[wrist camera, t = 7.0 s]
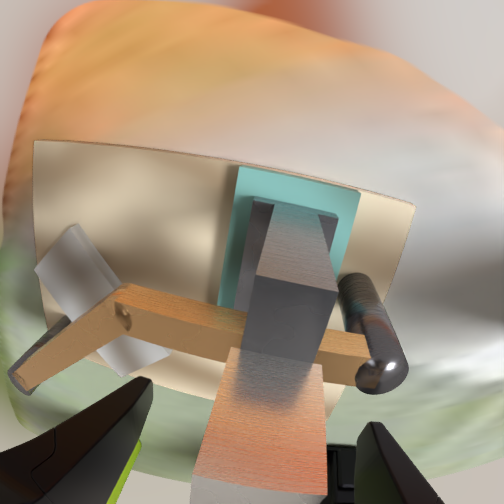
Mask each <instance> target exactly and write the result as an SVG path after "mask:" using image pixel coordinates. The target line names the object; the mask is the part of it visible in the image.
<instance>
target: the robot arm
mask: <svg viewBox="0 0 504 504" xmlns="http://www.w3.org/2000/svg"><path fill="white" fill-rule="evenodd" d="M152 401H153V382H152V380H151V379H150V378H147V377H143V376H138V377H136V378H134V379H133V380H131V381H130V382H128V383H126V384H125V385H123V386H122V387H120V388H118V389H117V390H115V391H114V392H112V393H110V394H109V395H107V396H106V397H104V398H102V399H101V400H99V401H97V402H96V403H94V404H93V405H91V406H89V407H88V408H86V409H84V410H83V411H81V412H79V413H78V414H76V415H74V416H73V417H71V418H69V419H68V420H66V421H64V422H62V423H61V424H59V425H57V426H56V427H55V428H52V429H50V430H49V431H47V432H45V433H43V434H41V435H39V436H38V437H36V438H34V439H32V440H30V441H27V442H25V443H23V444H21V445H18V446H16V447H13V448H11V449H8V450H6V451H3V452H0V504H106V503H107V501H108V499H109V498H110V496H111V494H112V492H113V490H114V488H115V486H116V484H117V482H118V480H119V478H120V476H121V474H122V472H123V470H124V468H125V466H126V464H127V462H128V460H129V458H130V456H131V454H132V452H133V451H134V449H135V447H136V444H137V442H138V440H139V437H140V435H141V432H142V429H143V426H144V423H145V421H146V418H147V415H148V412H149V410H150V407H151V404H152ZM326 451H327V496H326V497H325V498H324V499H323V500H322V501H321V502H320V503H319V504H445V503H444V502H443V501H442V500H441V498H440V497H438V495H437V493H436V492H435V491H434V489H433V488H432V487H431V485H430V484H429V483H428V482H427V480H426V479H425V478H424V476H423V475H422V474H421V473H420V471H419V470H418V469H417V467H416V466H415V465H414V464H413V462H412V461H411V460H410V458H409V457H408V456H407V455H406V453H405V452H404V451H403V449H402V448H401V447H400V446H399V444H398V443H397V442H396V440H395V439H394V438H393V436H392V435H391V434H390V433H389V431H388V430H387V429H386V427H385V426H384V425H383V424H382V423H381V422H369V423H367V425H366V426H365V428H364V429H363V431H362V432H361V434H360V435H359V437H358V439H357V449H354V448H339V447H327V446H326Z"/></svg>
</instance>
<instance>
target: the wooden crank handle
mask: <svg viewBox="0 0 504 504" xmlns="http://www.w3.org/2000/svg"><path fill="white" fill-rule="evenodd" d="M337 287H338V291H339V293H338V296H337V297H338V302H339V306H340V311H341V315H342V320H343V325H344V329H345V332H344V331H338V330H333V329H327V328H326V330H325V333H324V336H323V338H322V341H321V344H320V347H319V349H318V352H317V354H316V357H315V360H314V362H313V363H314V364H320V365H322V374H323V382H326V383H333V384H340V385H348V386H356V387H357V388H358V389H359V390H360V391H362V392H364V393H366V394H371V395H377V394H383V393H386V392H389V391H391V390H393V389H395V388H396V387H398V386H399V385H400V384H401V383H402V382H403V381H404V380H405V378H406V376H407V374H408V370H409V367H408V363H407V360H406V358H405V355H404V353H403V350H402V348H401V345H400V343H399V341H398V338H397V336H396V333H395V331H394V329H393V326H392V324H391V322H390V319H389V317H388V315H387V313H386V310H385V308H384V306H383V304H382V301H381V299H380V297H379V295H378V293H377V291H376V288H375V286H374V284H373V282H372V280H371V279H370V277H368V276H367V275H366V274H363V273H359V272H356V273H351V274H348V275H346V276H345V277H343V278H342V279H341V280H340V282H339V284H338V286H337ZM247 314H248V312H244V311H239V310H235V309H231V308H226V307H222V306H218V305H213V304H209V303H205V302H201V301H197V300H193V299H189V298H185V297H181V296H177V295H173V294H169V293H165V292H161V291H158V290H154V289H150V288H146V287H143V286H139V285H135V284H132V283H123V284H121V285H120V286H119V287H117V288H116V289H115V290H113V291H112V292H111V293H109V294H108V295H107V296H105V297H104V298H103V299H101V300H100V301H99V302H97V303H96V304H95V305H94V306H92V307H91V308H90V309H88V310H87V311H86V312H85V313H83V314H82V315H81V316H79V317H78V318H77V319H76V320H74V321H73V322H72V321H71V320H70V319H69V318H68V316H67V315H65V316H63V317H62V318H61V319H60V320H59V321H58V322H57V323H56V324H55V325H53V326H52V327H51V328H50V329H49V330H48V331H47V332H46V333H45V334H44V335H43V336H42V337H41V338H40V339H39V340H38V341H37V342H36V343H35V344H34V345H33V346H32V347H31V348H30V349H29V350H28V351H27V352H26V353H25V354H24V355H23V356H22V357H21V358H20V359H19V360H18V361H17V362H16V363H15V364H14V365H13V366H12V367H11V368H10V369H9V370H8V376H9V378H10V380H11V382H12V383H13V384H14V386H15V387H16V388H17V389H18V390H19V391H21V392H22V393H23V394H25V395H28V396H30V395H31V394H32V393H33V392H34V390H35V389H36V388H37V387H38V386H39V385H40V383H42V382H43V381H45V380H47V379H48V378H50V377H52V376H54V375H55V374H57V373H59V372H60V371H62V370H64V369H65V368H67V367H69V366H70V365H72V364H74V363H76V362H77V361H79V360H81V359H82V358H84V357H86V356H87V355H89V354H91V353H92V352H94V351H96V350H97V349H99V348H101V347H102V346H104V345H106V344H108V343H109V342H111V341H113V340H114V339H116V338H118V337H119V336H121V335H123V334H124V335H127V336H130V337H133V338H136V339H139V340H143V341H146V342H149V343H152V344H156V345H159V346H162V347H166V348H169V349H173V350H176V351H180V352H184V353H187V354H191V355H195V356H199V357H202V358H206V359H210V360H214V361H218V362H223V363H226V362H227V359H228V355H229V352H230V349H231V347H234V348H238V349H240V348H241V343H242V338H243V333H244V328H245V324H246V319H247Z"/></svg>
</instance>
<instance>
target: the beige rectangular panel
mask: <svg viewBox="0 0 504 504" xmlns="http://www.w3.org/2000/svg"><path fill="white" fill-rule="evenodd" d="M255 196H258V197H263V198H268V199H273V200H278V201H282V202H287V203H292V204H296V205H301V206H305V207H310V208H314V209H319V210H323V211H327V212H332V213H336V214H337V216H338V218H339V220H338V224H337V228H336V231H335V235H334V239H333V242H332V246H331V250H330V253H329V256H330V260H331V263H332V267H333V271H334V275H335V279H336V283H337V286H338V284H339V282H340V280H341V279H342V278H343V277H345V276H346V275H348V274H351V273H356V272H359V273H363V274H366V275H367V276H368V277H370V279H371V280H372V282H373V284H374V286H375V288H376V291H377V293H378V295H379V297H380V299H381V301H382V304H383V303H384V300H385V298H386V295H387V293H388V290H389V287H390V285H391V282H392V279H393V277H394V274H395V271H396V269H397V266H398V263H399V260H400V257H401V254H402V251H403V248H404V245H405V242H406V239H407V236H408V233H409V230H410V227H411V223H412V220H413V217H414V213H415V210H416V206H415V205H413V204H412V203H410V202H406V201H403V200H400V199H396V198H393V197H389V196H386V195H382V194H379V193H375V192H371V191H367V190H364V189H360V188H356V187H352V186H348V185H344V184H340V183H336V182H332V181H328V180H324V179H320V178H315V177H311V176H307V175H302V174H298V173H293V172H288V171H284V170H279V169H274V168H269V167H264V166H259V165H254V164H248V163H243V162H237V161H232V160H226V159H220V158H214V157H208V156H202V155H195V154H188V153H182V152H174V151H167V150H159V149H151V148H143V147H134V146H125V145H115V144H104V143H93V142H79V141H64V140H44V139H43V140H36V141H34V153H33V220H34V236H35V248H36V258H37V266H36V267H35V269H34V271H35V273H36V274H37V276H38V277H39V282H40V289H41V296H42V302H43V307H44V313H45V318H46V323H47V328H48V330H49V329H50V328H51V327H52V326H53V325H55V324H56V323H57V322H58V321H59V320H60V319H61V318H62V317H63V316H65V315H67V316H68V318H69V319H70V320H71V321H72V322H73V321H74V320H76V319H77V318H78V317H79V316H81V315H82V314H83V313H85V312H86V311H87V310H88V309H90V308H91V307H92V306H94V305H95V304H96V303H97V302H99V301H100V300H101V299H103V298H104V297H105V296H107V295H108V294H109V293H111V292H112V291H113V290H115V289H116V288H117V287H119V286H120V285H121V284H123V283H132V284H135V285H139V286H143V287H146V288H150V289H154V290H158V291H161V292H165V293H169V294H173V295H177V296H181V297H185V298H189V299H193V300H197V301H201V302H205V303H209V304H213V305H218V306H222V307H226V308H231V309H233V308H234V302H235V297H236V291H237V286H238V280H239V275H240V269H241V263H242V258H243V252H244V247H245V241H246V236H247V230H248V225H249V220H250V214H251V209H252V203H253V199H254V198H255ZM327 329H333V330H338V331H344V332H345V329H344V325H343V320H342V315H341V311H340V306H339V302H338V297H337V299H336V302H335V305H334V308H333V311H332V313H331V316H330V319H329V322H328V325H327ZM84 358H85V359H88V360H90V361H93V362H95V363H98V364H100V365H103V366H106V367H108V368H111V369H113V370H114V371H115V372H116V373H117V374H118V375H119V376H120V377H123V376H126V375H130V376H133V377H138V376H143V377H147V378H150V379H151V380H152V382H153V383H154V384H157V385H160V386H164V387H167V388H170V389H174V390H177V391H181V392H184V393H188V394H191V395H195V396H199V397H203V398H207V399H210V400H215V398H216V395H217V392H218V388H219V385H220V382H221V378H222V375H223V372H224V369H225V365H226V363H223V362H218V361H214V360H210V359H206V358H202V357H199V356H195V355H191V354H187V353H184V352H180V351H176V350H173V349H169V348H166V347H162V346H159V345H156V344H152V343H149V342H146V341H143V340H139V339H136V338H133V337H130V336H127V335H124V334H123V335H121V336H119V337H118V338H116V339H114V340H113V341H111V342H109V343H108V344H106V345H104V346H102V347H101V348H99V349H97V350H96V351H94V352H92V353H91V354H89V355H87V356H86V357H84ZM345 386H346V385H340V384H333V383H326V382H323V389H324V405H325V421H327V420H328V418H329V416H330V415H331V413H332V411H333V409H334V407H335V405H336V404H337V402H338V400H339V398H340V396H341V394H342V392H343V390H344V388H345Z"/></svg>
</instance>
